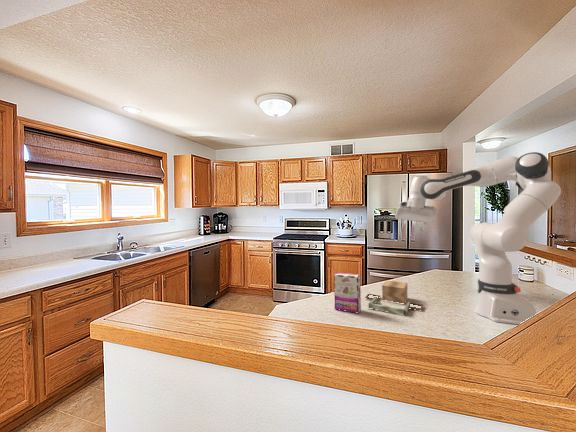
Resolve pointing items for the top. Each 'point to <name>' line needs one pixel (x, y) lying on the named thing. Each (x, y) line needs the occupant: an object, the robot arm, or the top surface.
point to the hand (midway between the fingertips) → (412, 229)
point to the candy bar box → (347, 292)
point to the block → (394, 291)
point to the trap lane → (391, 309)
